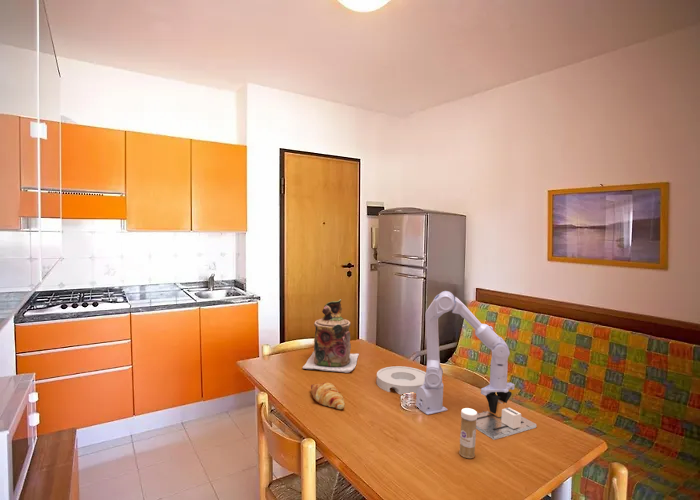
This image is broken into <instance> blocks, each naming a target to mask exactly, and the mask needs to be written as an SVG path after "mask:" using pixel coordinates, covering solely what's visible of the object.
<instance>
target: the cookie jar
mask: <svg viewBox="0 0 700 500" xmlns="http://www.w3.org/2000/svg"><path fill="white" fill-rule="evenodd" d="M341 302H342V299H339V300H337V301H336V300H332V301H329V302H327V303H325V305H324V307H323V309H321V312H322V314H323V317H322V318H319V319H316V320H315V321H314V323H313V325H314V327H315V330H314V331H315V334H314V339H313V340H314V341H313V352H311V353H312V354H311V355H310V356H309V357H308V359H307V360H306V363H305V364H304V365H303V366H302V369H303V370H304V369H306V370H319V371H325V372H336V373H337V372H338V373H346V374H349V373H350V372H352V371H354V370H355V368H356V365H357V362H358V358H359V355H360V353H351V349H352V346H351V345H352V344H351V332H350V327H351V323H352V322H351V321H350V320H348V319H346V318H345V319H344V318H343V317H342V311H343V308H342V304H341Z"/></svg>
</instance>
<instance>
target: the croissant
mask: <svg viewBox="0 0 700 500" xmlns="http://www.w3.org/2000/svg"><path fill="white" fill-rule="evenodd" d="M310 389H311V390H310V391H311V395H312V398H313V399H314V400H315V402H317V403H318V404H320V405H322V406H324V407H325V406H326V407H329V408H335V409H336V410H343V409H344V408H345V404H346V403H345V399H344V397H343V393H341V392H340V391H339V390H338V388H337V386H336V385H335V384H333V383H331V382H327V381H325V382H323V383H320V384H319V383H315V384H311V385H310Z"/></svg>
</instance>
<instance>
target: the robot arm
mask: <svg viewBox="0 0 700 500" xmlns="http://www.w3.org/2000/svg"><path fill="white" fill-rule="evenodd" d="M448 312H451V313H452V314H457V315H460V316H461V318H462V319H464V320H465V321H466V322H467V323H468V324H469V325H470V326H471V327H472V329H474V334H475V337H476V338H477V339H479V341H481V342H482V344H483V345H484V346H485V347H486V348H487V349H489V350H490V351H491V360H490V370H489V371H490V372H489V373H490V374H489V384H487V385H486V386H484V387H482V388H481V387H480V394H481V395H483V396H485V398H486V402H487V405H488V404H489V409H490V412H492V413H494V414H495V413H496V409H497V403H498V400H501V401H503V402H505V403H506V404H508V401H509V399H510V398H511V397H512V395H513V394H512V392H511V391H509V390H515V384H514V383H513V382H510V381H509V382H508V371H509V370H508V366H509V363H508V360H509V357H510V354H511V352H510V349H509V346H508V343H506V341H505V340H504V339H503V337H501V336H499V335H498V334H497V333H496V332H495V331H494V328H493V327H492V325H490V326H489V325H488V324H486V323H481V321H480V320H479V319H478V318H477V317H476V316H475V314H474V313H472V311H471V310H470V308H468V307H467V306H466V304H464V303H463V302H462V300H460V299H459V298H458V297H457V296H455V295H454V294H453V293H452V292H451V291H448V290H444V291H443V290H442V291H441V292H440V293H439V294H436V296H435V297H434V298H433V300H432V301H431V303H430V304H429V306H428V308H427V309H426V311H425V315H424V316H425V317H424V318H425V319H424V320H425V338H426V339H425V340H426V341H425V343H426V370H425V372H426V375H425V378H424V379H425V381H424V384H423V385H422V386H421V387H418V389H417V393H416V395H415V396H416V397H415V405H416V406H417V407H418V408H419V410H420V411H421V412H423V413H424V414H425V415H432V414H438V413H441V412H446V411H448V408H447V407H445V406H444V405H443V403H444V402H443V401H444V399H443V398H444V383H443V374H444V370H443V368H442V366H441V360H440V339H439V335H440V334H439V318H440V317H441V316H443V315H444V314H445V313H448ZM417 407H416V408H417ZM418 408H417V409H418Z"/></svg>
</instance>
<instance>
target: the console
mask: <svg viewBox="0 0 700 500" xmlns="http://www.w3.org/2000/svg"><path fill="white" fill-rule="evenodd" d="M501 418H502V416H501V417H497V416H496V415H494V414H492V413H490V412H489V411H488V410H486V411H484V410H482V412H477V420H476V431H477V430H478V431H479V432H480V433H482V434H484V435H485V436H487V437H489V438H490V439H492V440H493V441H494V440H498V439H501V438H505V437H509V436H512V435H515V434H520V433H522V432H523V433H524V432H525V431H530V430H532V429H536V428H537V423H535V422H534V421H531V420H529V419H528V418H526V417H523V416H522V415H521V427H518V428H515V429H512V428H511V427H509V426H507V425H505V424H504V423H502V422H501Z"/></svg>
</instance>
